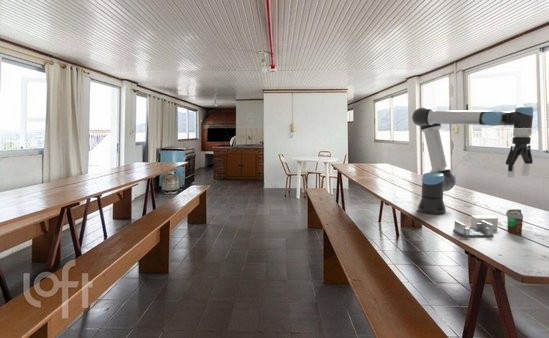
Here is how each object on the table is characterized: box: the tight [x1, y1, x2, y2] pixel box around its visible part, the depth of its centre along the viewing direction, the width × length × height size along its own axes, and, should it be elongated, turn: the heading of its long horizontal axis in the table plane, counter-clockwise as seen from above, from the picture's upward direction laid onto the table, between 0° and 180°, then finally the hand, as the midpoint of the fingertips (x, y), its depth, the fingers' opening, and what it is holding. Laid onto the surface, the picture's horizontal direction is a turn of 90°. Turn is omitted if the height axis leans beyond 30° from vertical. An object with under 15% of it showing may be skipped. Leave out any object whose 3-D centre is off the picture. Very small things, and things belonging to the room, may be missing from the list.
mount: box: [452, 220, 495, 238], centre depth 148 cm, size 14×9×6 cm, turn 88°
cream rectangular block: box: [470, 215, 499, 231], centre depth 156 cm, size 10×5×6 cm, turn 86°
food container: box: [505, 208, 524, 236], centre depth 150 cm, size 12×6×10 cm, turn 145°
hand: (518, 176), depth 167 cm, fingers open, 13 cm apart
